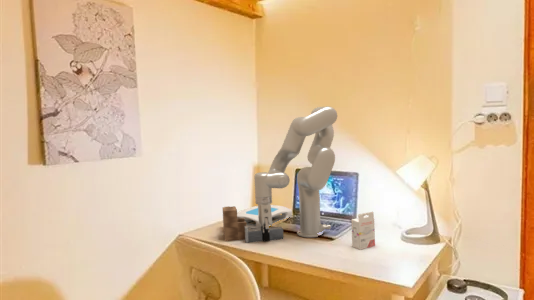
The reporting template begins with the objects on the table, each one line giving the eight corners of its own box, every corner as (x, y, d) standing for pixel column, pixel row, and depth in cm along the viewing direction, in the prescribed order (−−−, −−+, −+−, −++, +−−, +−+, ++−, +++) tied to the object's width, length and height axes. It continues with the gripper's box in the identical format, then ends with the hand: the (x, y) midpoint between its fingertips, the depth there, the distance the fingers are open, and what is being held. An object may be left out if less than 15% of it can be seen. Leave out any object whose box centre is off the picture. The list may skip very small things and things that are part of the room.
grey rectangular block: (281, 237, 177) (281, 222, 176) (283, 239, 173) (282, 224, 173) (244, 240, 174) (244, 225, 173) (245, 242, 170) (245, 227, 170)
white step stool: (230, 225, 200) (229, 214, 199) (262, 213, 222) (262, 203, 222) (261, 231, 187) (261, 219, 187) (293, 218, 209) (292, 207, 209)
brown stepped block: (241, 226, 197) (240, 199, 195) (247, 239, 175) (245, 209, 174) (222, 228, 195) (220, 201, 194) (225, 241, 173) (223, 211, 172)
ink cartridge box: (367, 242, 164) (366, 209, 163) (375, 246, 159) (374, 211, 158) (351, 246, 160) (350, 212, 159) (359, 250, 155) (358, 214, 154)
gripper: (275, 203, 164) (277, 244, 166) (268, 195, 181) (270, 233, 182) (258, 204, 163) (260, 246, 165) (252, 196, 179) (254, 235, 181)
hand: (265, 239), depth 173 cm, fingers closed on grey rectangular block, 3 cm apart
